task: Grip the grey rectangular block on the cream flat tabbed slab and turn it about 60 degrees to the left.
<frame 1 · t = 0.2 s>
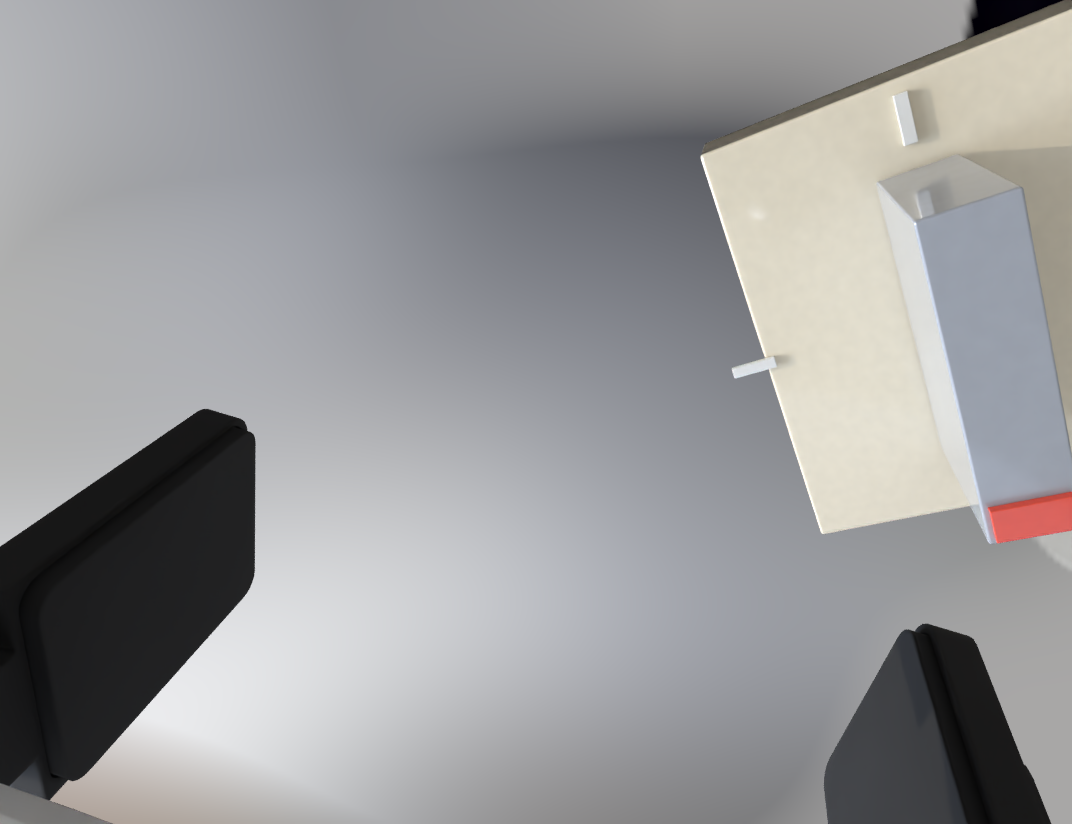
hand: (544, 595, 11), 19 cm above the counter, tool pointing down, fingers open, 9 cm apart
grey rectangular block: (975, 345, 20), point 6 cm above the counter, hinge at 0.0°
cream flat tabbed slab: (927, 283, 25), on the counter
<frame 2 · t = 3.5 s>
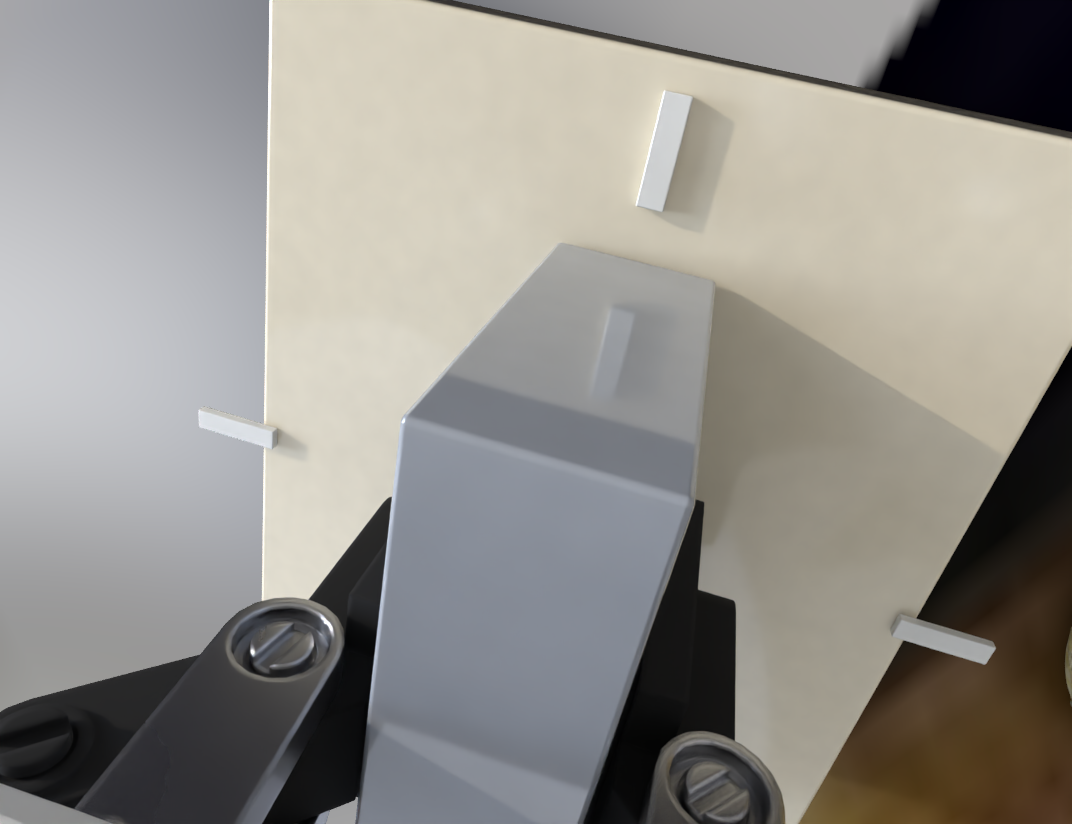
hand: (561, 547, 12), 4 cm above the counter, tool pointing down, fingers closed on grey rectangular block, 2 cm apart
grey rectangular block: (525, 650, 10), point 6 cm above the counter, hinge at 0.0°, touching gripper
cream flat tabbed slab: (599, 439, 15), on the counter
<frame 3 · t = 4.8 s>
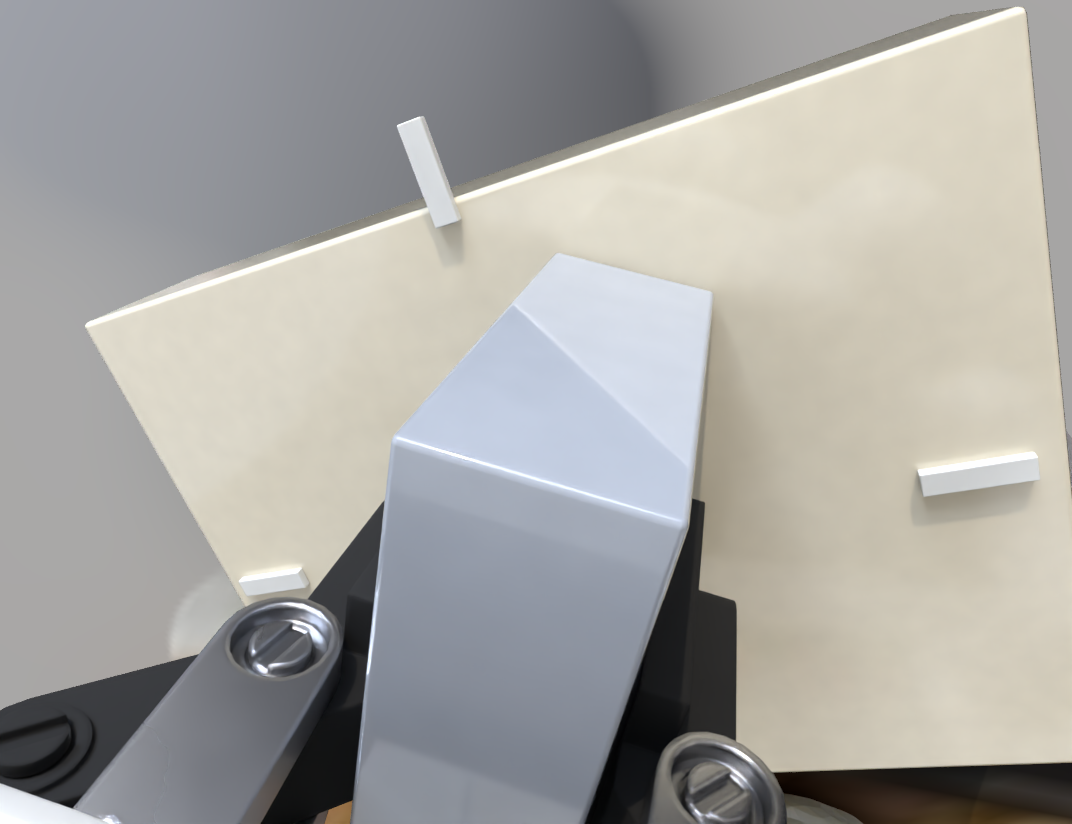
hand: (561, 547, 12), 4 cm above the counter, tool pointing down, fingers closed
grey rectangular block: (520, 664, 10), point 6 cm above the counter, hinge at 59.9°
cream flat tabbed slab: (598, 447, 15), on the counter
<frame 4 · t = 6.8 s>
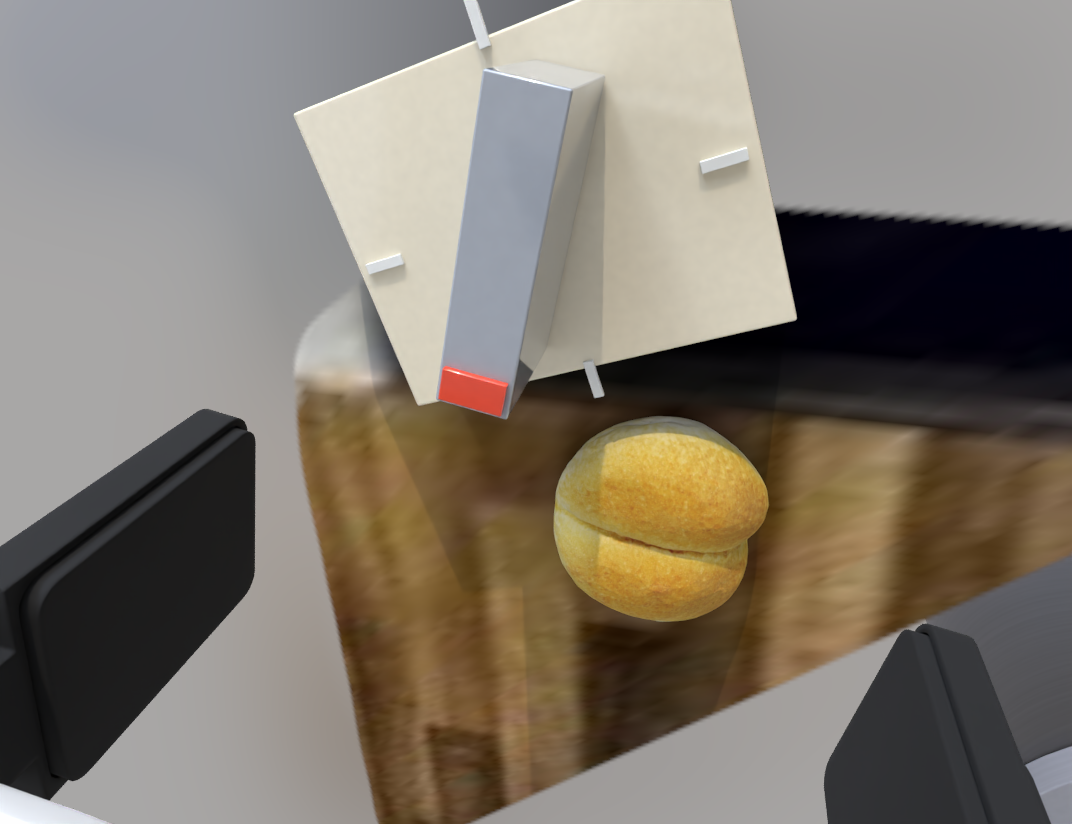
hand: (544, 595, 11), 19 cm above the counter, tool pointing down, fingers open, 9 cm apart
bread roll: (660, 503, 32), on the counter
grey rectangular block: (519, 238, 22), point 6 cm above the counter, hinge at 59.9°
cream flat tabbed slab: (559, 197, 27), on the counter
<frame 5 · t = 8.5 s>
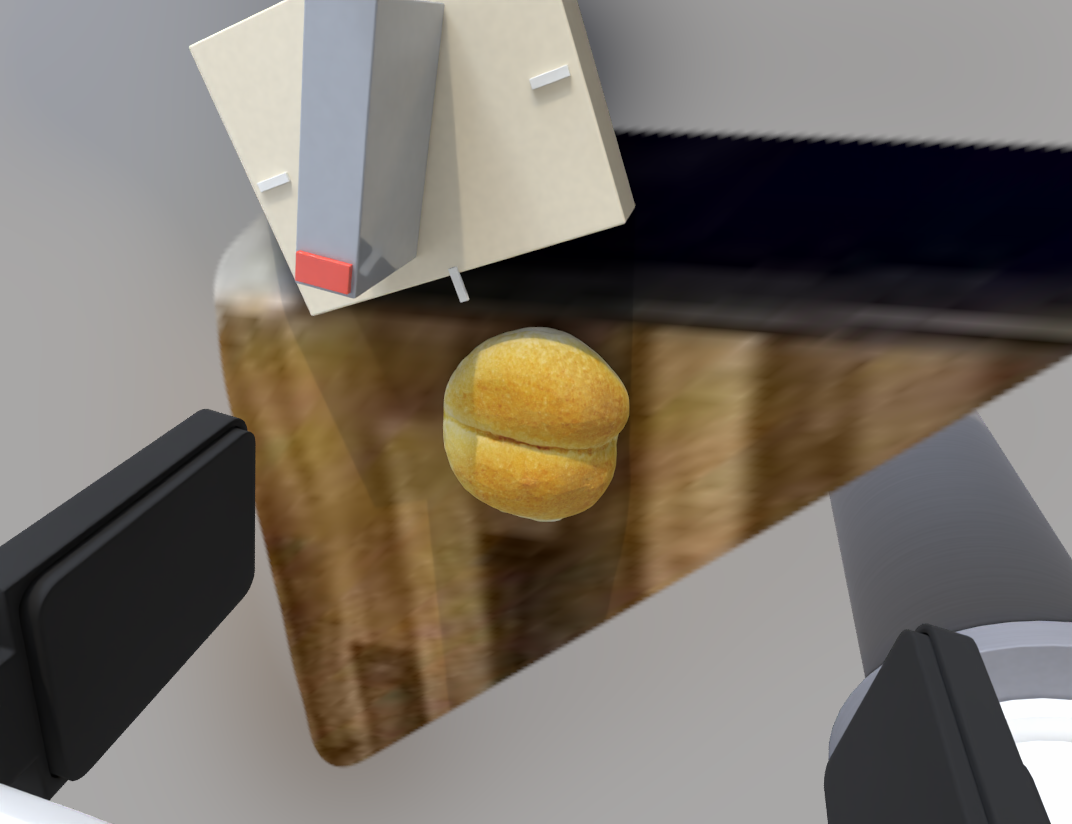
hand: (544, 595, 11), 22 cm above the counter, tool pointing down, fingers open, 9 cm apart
bread roll: (541, 414, 35), on the counter
grey rectangular block: (368, 142, 25), point 6 cm above the counter, hinge at 59.9°
cream flat tabbed slab: (431, 125, 30), on the counter
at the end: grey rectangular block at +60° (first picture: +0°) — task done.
